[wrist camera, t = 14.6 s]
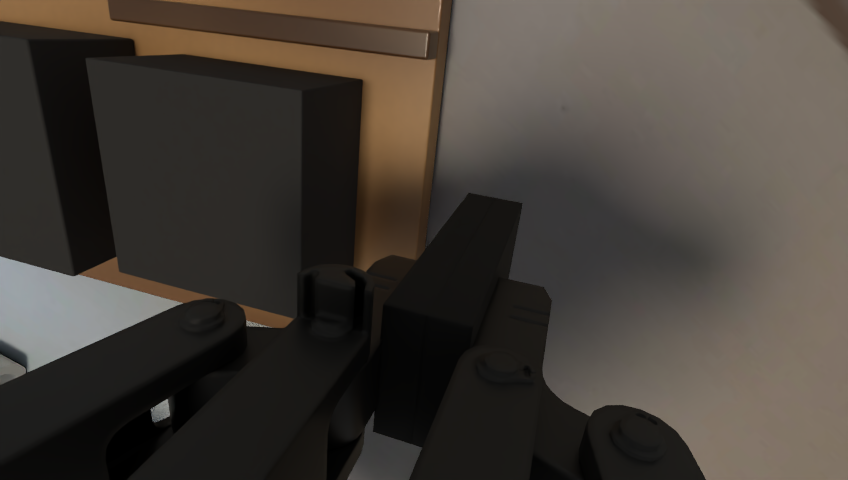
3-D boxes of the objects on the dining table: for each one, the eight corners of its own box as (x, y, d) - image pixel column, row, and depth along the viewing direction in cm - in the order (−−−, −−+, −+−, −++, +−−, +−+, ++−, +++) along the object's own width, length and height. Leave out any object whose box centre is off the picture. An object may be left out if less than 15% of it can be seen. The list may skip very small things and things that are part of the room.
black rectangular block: (353, 269, 19) (301, 321, 16) (198, 232, 21) (118, 272, 17) (363, 79, 17) (301, 90, 13) (183, 53, 18) (84, 57, 15)
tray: (414, 348, 21) (396, 379, 19) (44, 250, 26) (0, 267, 24) (455, -24, 16) (436, -32, 14) (-25, -65, 20) (-91, -76, 18)
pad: (158, 238, 22) (73, 277, 18) (15, 203, 23) (-87, 233, 20) (134, 38, 18) (26, 38, 15) (-29, 16, 20) (-160, 12, 17)
